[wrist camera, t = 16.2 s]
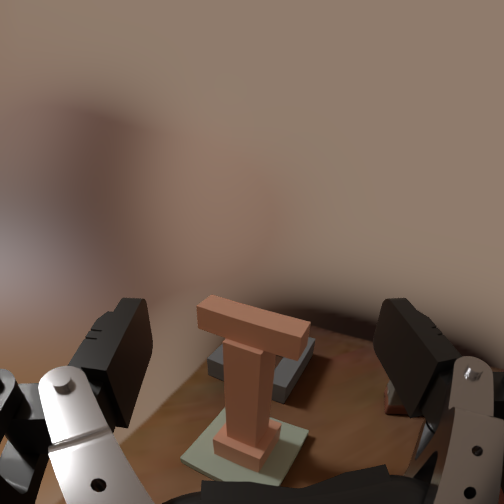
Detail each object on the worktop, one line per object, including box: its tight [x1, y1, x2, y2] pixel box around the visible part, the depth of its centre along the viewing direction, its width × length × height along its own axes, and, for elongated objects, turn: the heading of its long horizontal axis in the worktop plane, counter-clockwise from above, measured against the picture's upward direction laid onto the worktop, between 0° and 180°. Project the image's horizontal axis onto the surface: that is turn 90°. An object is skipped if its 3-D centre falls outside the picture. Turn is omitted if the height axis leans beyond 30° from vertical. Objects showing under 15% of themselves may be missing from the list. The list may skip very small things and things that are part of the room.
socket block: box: [207, 337, 315, 404], centre depth 41 cm, size 11×11×3 cm
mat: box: [180, 408, 309, 486], centre depth 28 cm, size 10×10×1 cm
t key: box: [197, 295, 311, 473], centre depth 25 cm, size 8×5×17 cm, turn 63°
